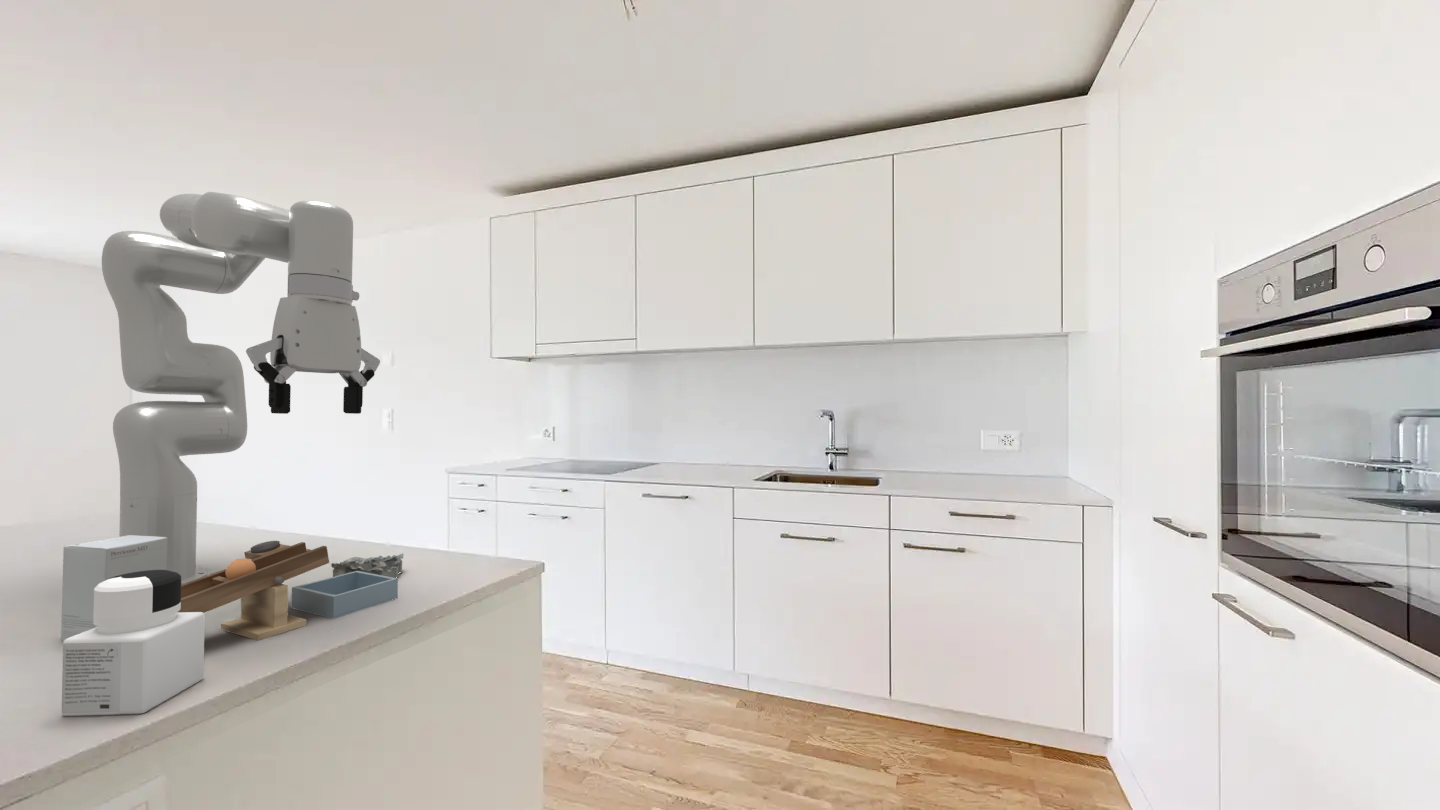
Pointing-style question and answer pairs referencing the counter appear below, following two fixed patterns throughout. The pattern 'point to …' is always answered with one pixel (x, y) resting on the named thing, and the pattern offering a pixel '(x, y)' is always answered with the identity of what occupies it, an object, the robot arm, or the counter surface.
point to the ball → (239, 568)
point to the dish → (344, 593)
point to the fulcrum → (264, 614)
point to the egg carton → (370, 565)
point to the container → (133, 647)
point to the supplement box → (102, 573)
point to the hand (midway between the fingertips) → (318, 413)
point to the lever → (252, 575)
